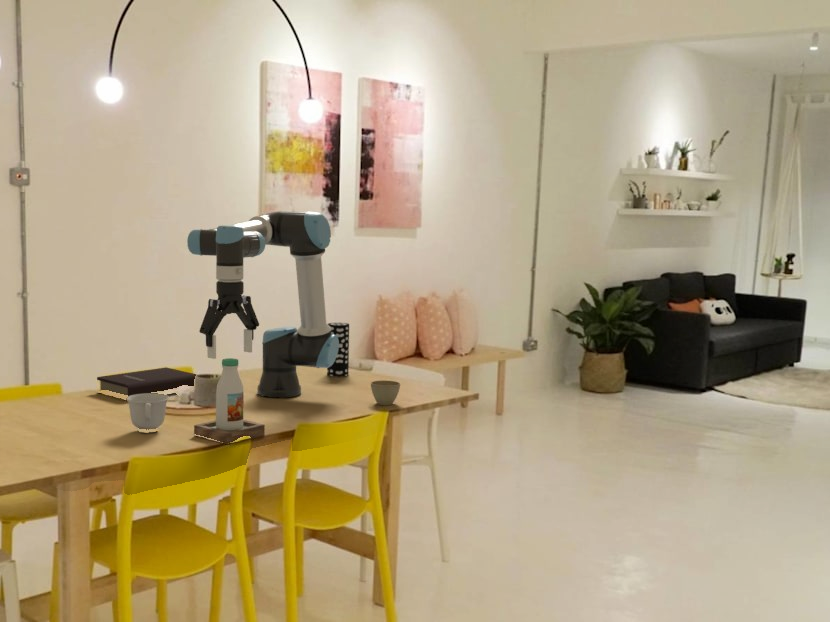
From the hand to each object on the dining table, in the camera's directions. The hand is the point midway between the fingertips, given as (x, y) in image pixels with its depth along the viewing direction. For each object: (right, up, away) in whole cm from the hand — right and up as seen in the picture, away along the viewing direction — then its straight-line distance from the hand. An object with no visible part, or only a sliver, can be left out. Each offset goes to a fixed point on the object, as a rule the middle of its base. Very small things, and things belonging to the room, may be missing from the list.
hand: (230, 355), depth 266 cm
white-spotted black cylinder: (+22, -13, +100) cm, 103 cm away
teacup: (-25, -23, +4) cm, 34 cm away
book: (-40, -16, +60) cm, 74 cm away
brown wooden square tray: (-1, -23, +2) cm, 23 cm away
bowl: (+42, -19, +50) cm, 68 cm away
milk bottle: (-1, -21, +2) cm, 21 cm away
